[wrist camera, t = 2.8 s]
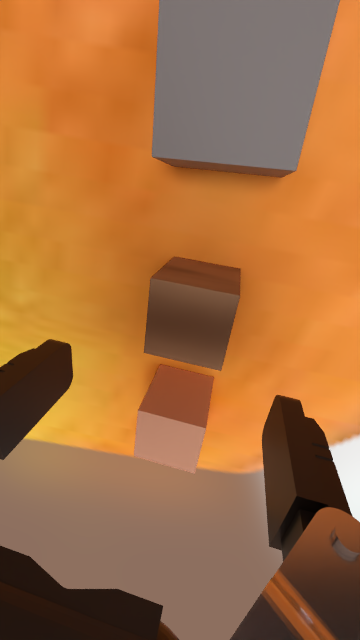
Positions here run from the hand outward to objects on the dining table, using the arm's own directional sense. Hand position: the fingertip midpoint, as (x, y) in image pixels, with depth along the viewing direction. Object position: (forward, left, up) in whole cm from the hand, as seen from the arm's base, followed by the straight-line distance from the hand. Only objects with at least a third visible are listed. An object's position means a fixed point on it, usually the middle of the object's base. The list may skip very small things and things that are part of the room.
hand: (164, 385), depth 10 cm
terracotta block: (-8, -6, -12) cm, 16 cm away
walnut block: (0, 0, -12) cm, 12 cm away
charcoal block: (+9, +7, -12) cm, 17 cm away
